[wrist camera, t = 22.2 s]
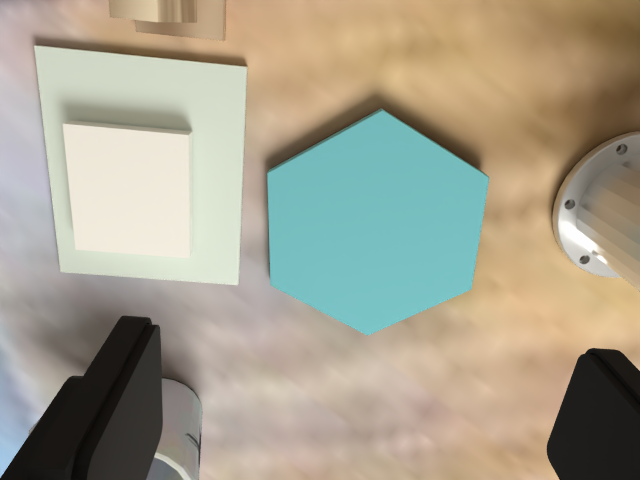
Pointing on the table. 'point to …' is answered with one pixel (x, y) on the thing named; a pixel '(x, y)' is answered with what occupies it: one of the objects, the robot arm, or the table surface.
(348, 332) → the table surface
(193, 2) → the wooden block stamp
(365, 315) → the plaque
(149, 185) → the tile
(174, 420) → the mug
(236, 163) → the board
